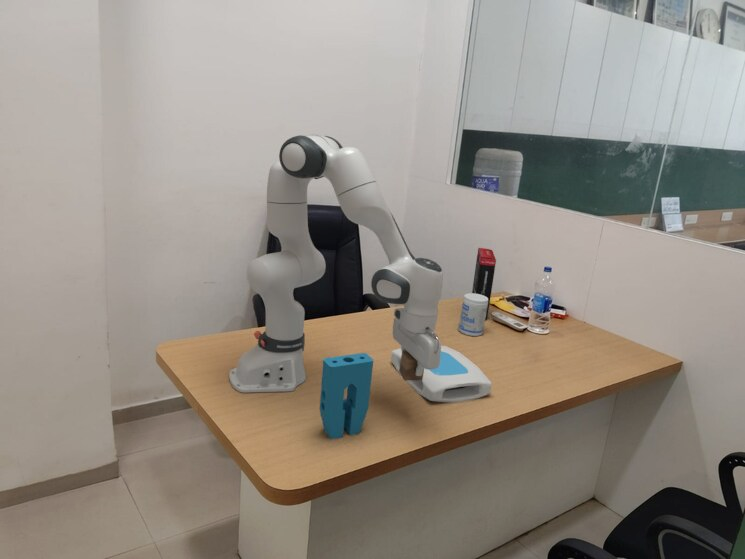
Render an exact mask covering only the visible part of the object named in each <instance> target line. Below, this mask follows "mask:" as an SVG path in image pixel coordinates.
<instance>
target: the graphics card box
mask: <svg viewBox="0 0 745 559" xmlns="http://www.w3.org/2000/svg"><path fill="white" fill-rule="evenodd" d="M493 251H494V250H493V249H491V248H486V247H485V248H483V247H478V248H477V255H476V261H475V262H476V263H475V268H474V277H473V284H472V291H471V293H475V294H480V295H483V296H486V297H487V298H488V306H487V312H486V317H485V321H487V320H488V316H489V310H490V303H491V298H492V290H493V285H494V284H493V282H494V278H495V270H496V264H497V258H496V256H495V254H494V252H493Z"/></svg>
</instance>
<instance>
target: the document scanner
mask: <svg viewBox="0 0 745 559" xmlns="http://www.w3.org/2000/svg"><path fill="white" fill-rule="evenodd" d="M401 356H402V350H401V347H400V348H397V349H393V350H392V351H391V358H390V359H391V360H390V361H391V363H392V364H393V366H394V367H395V369H396V372H398V374H399V375H400V376H401V377H402V375H401V374H400V372H399V370H400V363H401ZM405 381H406V382H407V383H408V384H409V385H410V386H411V388H412V389H413V390H414V391H416V393H417V394H418V395H420V396H421V397H423V398H425V399H427V400H429V401H430V402H431V401H432V402H437V403H448V404H449V403H450V404H453V403H459V402H465V401H473V400H477V399H479V398H482V397H484V396H488V395H489V394H491V390H492V385H493V384H492V382H491V380H490V379H489V378H488V377H487V376H486V374H485V373H484V372H483V370H482V369H480V367H479V366H477V365H476V364H475V363H474V362H472V361H471V360H470V359H469V358H467V357H466V356H465V355H463V353H461V352H459V351H458V350H455V349H453V348H451V347H450V346H447V345H441V357H440V365H439V367H438V368H436V369H428V370H427V369H425V368H424V373H423V379H422V380H405ZM460 387H463V388H460Z"/></svg>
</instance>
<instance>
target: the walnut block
mask: <svg viewBox="0 0 745 559" xmlns="http://www.w3.org/2000/svg"><path fill="white" fill-rule="evenodd" d="M417 366H418V364H417V360H416V359H415V358H414V357H413V356H412V355H411V354H409V353H408V352H407V351H402V356H401V363H400V370H399V372H400V374H401V375H402V376H401V375H400V374H399V375H400V376H401V377H402V379H403V381H406V380H422V379H423V373H424V370H423V373H422V375H421V376H416V375H415V373H414V368H416V367H417ZM399 372H398V373H399Z"/></svg>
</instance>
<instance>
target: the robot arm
mask: <svg viewBox="0 0 745 559" xmlns="http://www.w3.org/2000/svg"><path fill="white" fill-rule="evenodd" d="M278 157H279V160H278V161H276V162H274V163H273V164H272V165H271V166H270V168H269V172H268V175H267V176H268V178H267V186H266V224H267V225H266V226H267V230H268V232H269V233H270V234H272V235H273V236H274V237H276V238H278V240H279V243H280V247H281V248H280V249H281V251H278V252H272V253H266V254H264V255H261V256H259V257H257V258H255V259H253V260H251V261H250V262H249V263H248V266H247V269H246V280H247V282H248V286H250V288H251V289H252V290H253V291H254V292H255V293H257V294H258V295H259V296H260V297H261V298H262V301H263V304H264V307H265V308H264V309H265V330H264V332H263V333H261V331H260V330H256V331H254V333H253V335H254V338H255V339H256V340H257V344H256V345H254V346H253V347H251V348H250V349H249V350H247V351H246V352H244V353H243V354H242V355H241V356H240V357H239V359H238V363H237V366H236V367H234V368H231V369H230V371H229V375H228V379H229V380H228V381H229V383H230V385H231V386H232V388H233V389H234V390H236V391H238V392H240V393H246V394H247V393H274V392H275V393H276V392H277V393H278V392H279V393H280V392H281V393H282V392H293V391H295V390H296V388H297V387H298V386H300V385H301V384H303V383H304V382H305V381H306V379H307V375H306V370H305V365H304V364H305V363H304V351H305V344H306V343H305V341H306V339H305V336H306V335H305V332H304V331H305V330H304V328H305V313H306V312H305V308H304V307H303V306H302V304H301V303H300V302H299V301H297V300H295V298H294V289H296V288H301V287H305V286H309V285H311V284H313V283H315V282H316V281H318V280H320V279H321V278H322V277H323V276H324V274H325V273H326V267H327V266H326V260H325V258H324V255H323V253H321V251H319V250H318V249H317V248H316V247H315V245H314V242H313V241H312V238H311V235H310V232H309V226H308V225H309V221H308V217H309V216H308V188H309V187H308V186H309V184H310V182H311V181H312V180H313V179H315V180H318V179H322V178H326V179H327V180H328V181H329V183H330V184H331V186H332V188H333V191H334V194H335V196H336V199H337V201H338V205H339V206H340V209H341V210H342V212H343V214H344V215H345V217H346V218H347V219H348V220H349V221H351V223H354V224H356V225H360V226H361V227H362V226H363V227H365V228H367V229H369V230H370V231H371V232H373V233H374V234H375V235H376V237H377V238H378V241H379V243H380V245H381V246H382V249H383V251H384V254H385V255H386V257H387V259H388V262H389V264H388V265H385V266H383V267H381V268H380V269H379V270H377V271H376V272H374V273H373V275H372V277H371V283H370V286H371V287H370V288H371V290H372V294H373V295H374V296H375V297H376V299H378V301H380V302H382V303H386V304H392V305H403V307H399V308H397V307H396V308H395V309H394V310H393V315H394V318H393V323H392V332H391V333H392V338H393V340H394V341H396V342H397V343H398V344H399V345H400V346H401V347H400V348H401V350H402V351H407V352H408V353H409V354H411V355H412V356H413V357H414V358H415V359H416V360H417V364H418V366H417V367H416V368H414V373H415V375H416V376H421V375H422V373H423V370H424V368H425V369H427V370H428V369H436V368H438V367H439V365H440V357H441V344H442V343H441V341H440V339H439V338H438V337H439V336H438V334H437V333H435V332H434V331H435V330H436V325H437V322H438V314H439V308H438V306H439V302H440V300H441V296H442V292H443V291H442V288H443V280H444V279H443V274H444V273H443V269H442V267H441V266H440V265H439V264H438V263H437V262H435V261H433V260H432V259H428V258H425V257H424V258H423V257H415V256H414V255H413V253H412V252H411V250H410V248H409V247H408V244H407V243H406V241H405V238H404V236H403V234H402V231H401V230H400V227H399V226H398V224H397V222H396V220H395V217H394V215H393V213H392V212H391V210H390V209H389V207H388V205H387V203H386V202H385V199H384V197H383V194H382V192H381V189H380V187H379V184H378V182H377V180H376V177H375V175H374V173H373V171H372V168H371V166H370V165H369V163H368V161H367V159H366V157H365V156H364V154H363V153H362V151H361V150H360V149H358V148H357V147H354V146H345V147H343V145H342V144H341V143H340V142H339V141H338V139H335V138H333V137H331V136H328V135H319V134H309V135H301V134H300V135H295V136H292V137H290V138H288V139H287V140H286V141H285V142H283V144H282V145H281V147H280V150H279V154H278Z"/></svg>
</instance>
